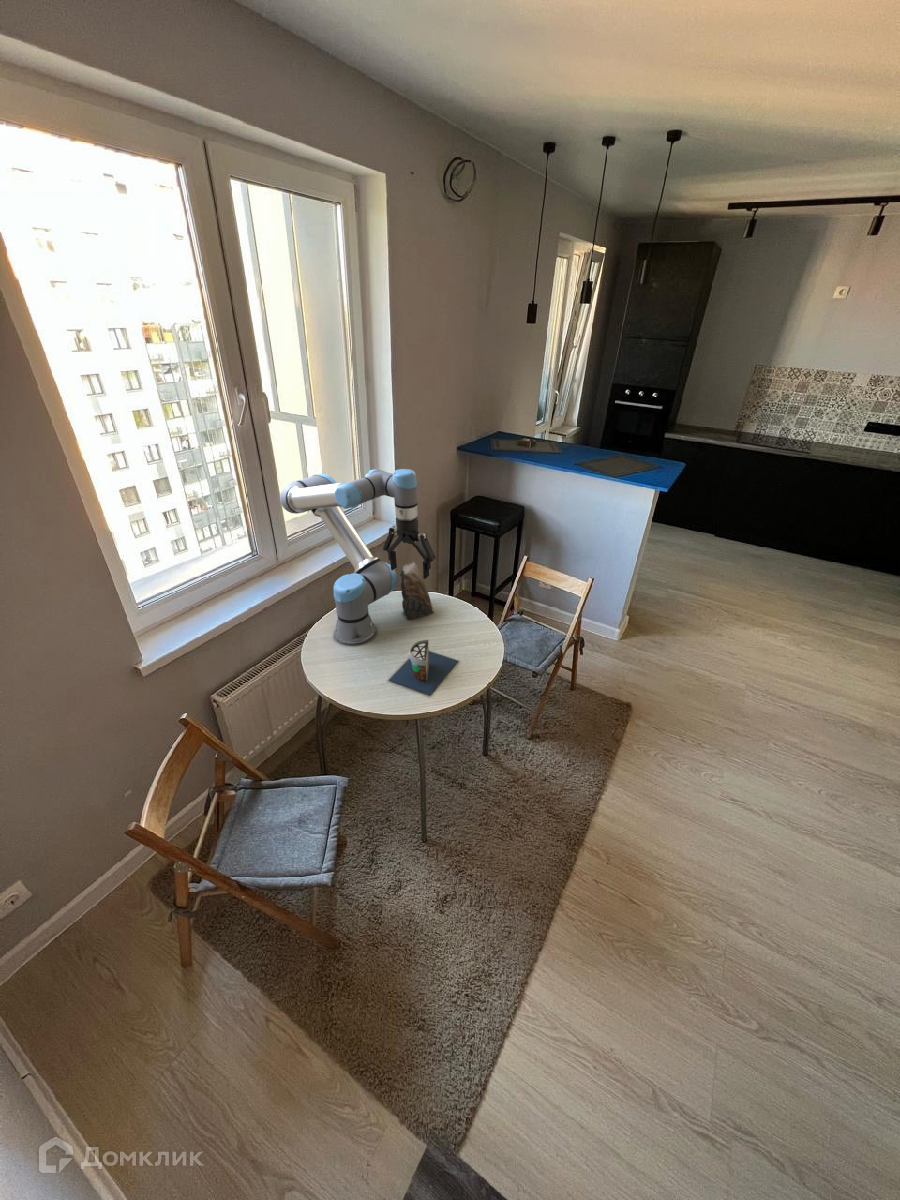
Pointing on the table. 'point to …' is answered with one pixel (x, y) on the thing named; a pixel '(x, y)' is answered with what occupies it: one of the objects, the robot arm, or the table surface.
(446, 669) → the mat
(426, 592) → the brown tall lump
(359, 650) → the table surface
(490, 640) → the table surface
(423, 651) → the food container
